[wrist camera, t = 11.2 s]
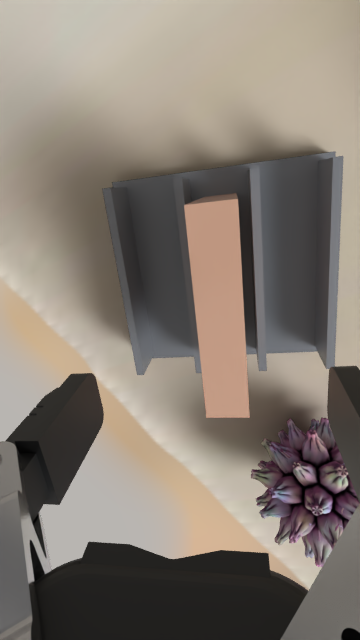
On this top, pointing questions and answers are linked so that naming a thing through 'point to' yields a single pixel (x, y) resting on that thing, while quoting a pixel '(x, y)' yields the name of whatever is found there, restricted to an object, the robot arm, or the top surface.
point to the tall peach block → (219, 303)
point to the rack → (256, 256)
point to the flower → (307, 488)
